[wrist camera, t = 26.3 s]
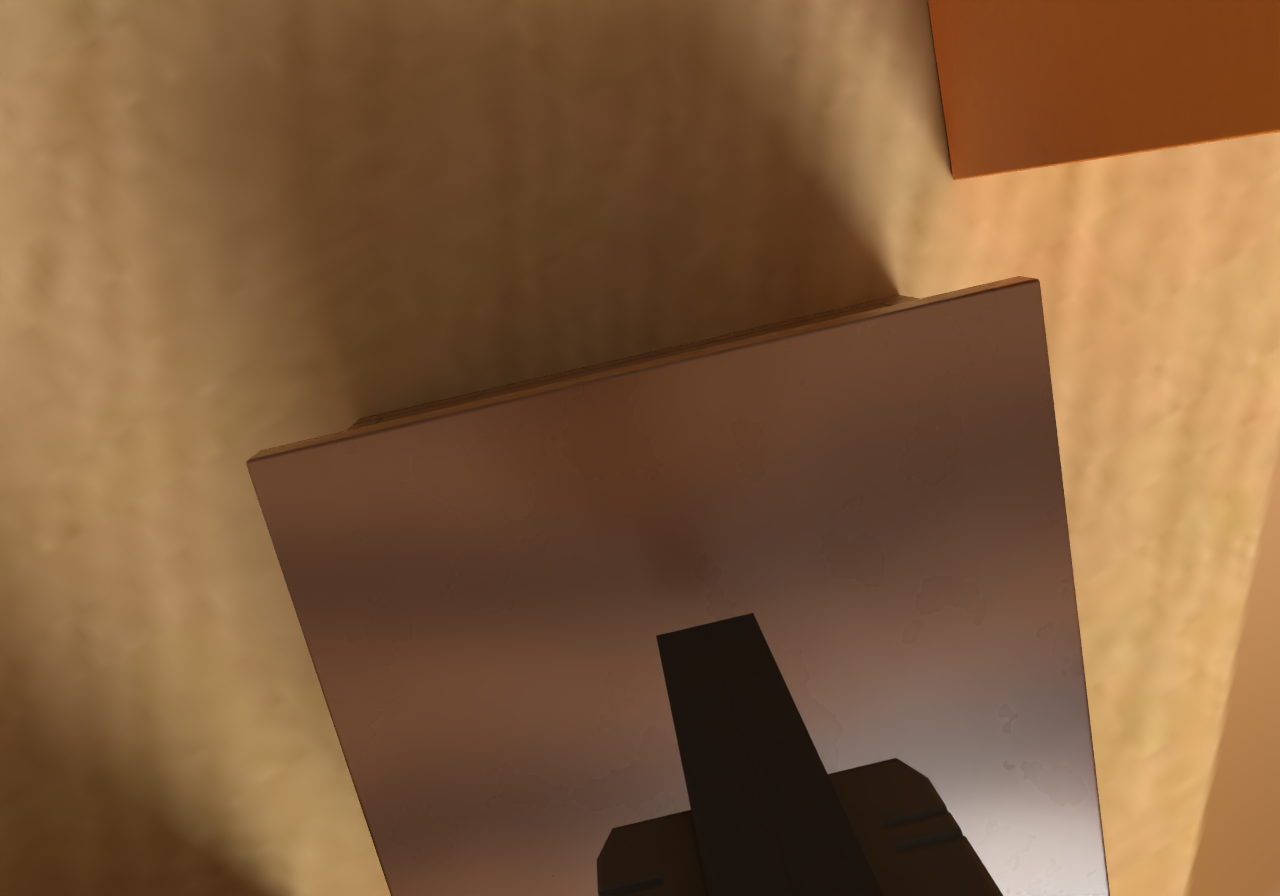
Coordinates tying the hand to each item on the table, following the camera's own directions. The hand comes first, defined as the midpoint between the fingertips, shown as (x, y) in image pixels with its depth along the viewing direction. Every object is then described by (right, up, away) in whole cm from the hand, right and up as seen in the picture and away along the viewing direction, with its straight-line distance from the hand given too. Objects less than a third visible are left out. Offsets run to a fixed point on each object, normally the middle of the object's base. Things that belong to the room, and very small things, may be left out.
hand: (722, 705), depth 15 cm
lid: (+1, -3, +6) cm, 6 cm away
